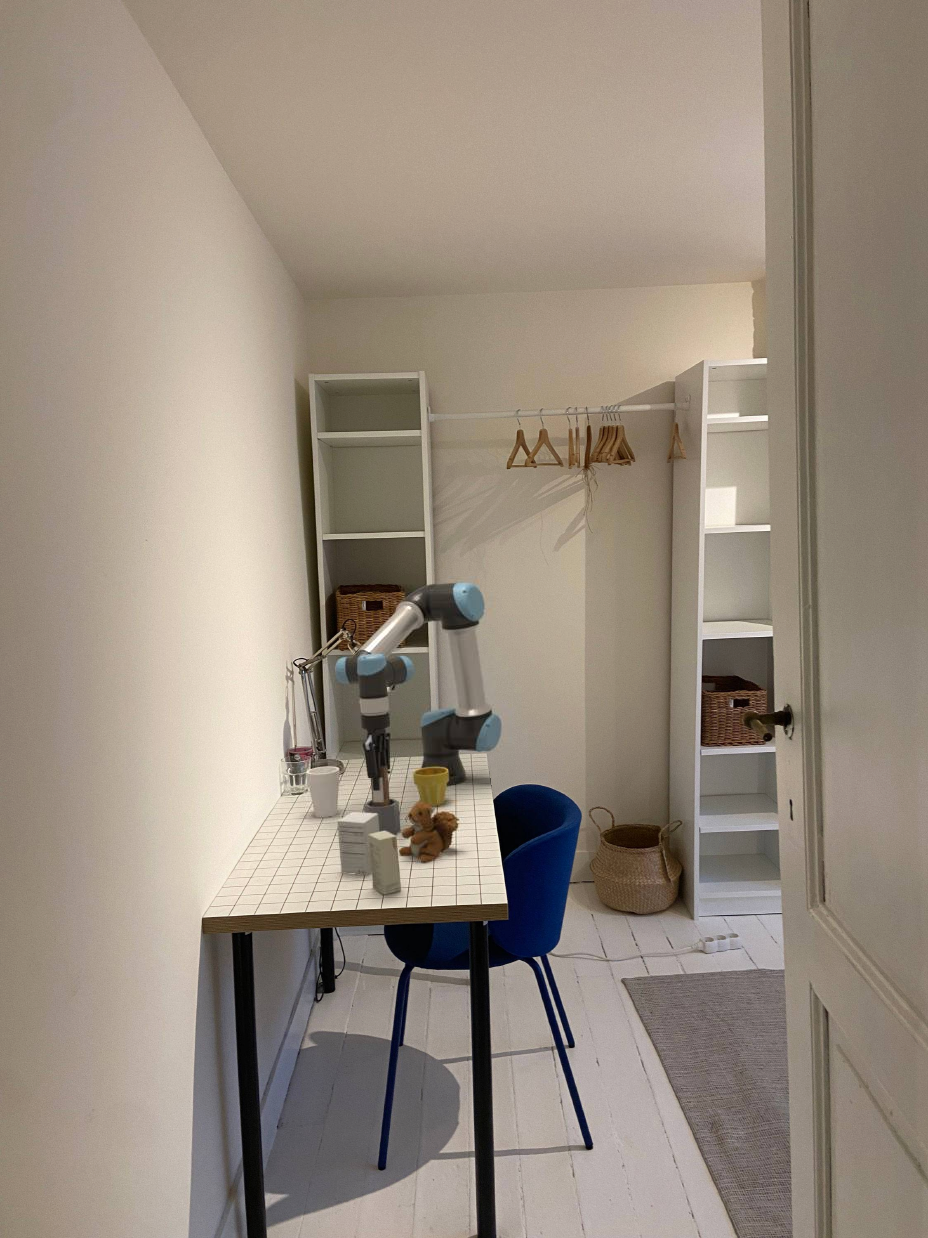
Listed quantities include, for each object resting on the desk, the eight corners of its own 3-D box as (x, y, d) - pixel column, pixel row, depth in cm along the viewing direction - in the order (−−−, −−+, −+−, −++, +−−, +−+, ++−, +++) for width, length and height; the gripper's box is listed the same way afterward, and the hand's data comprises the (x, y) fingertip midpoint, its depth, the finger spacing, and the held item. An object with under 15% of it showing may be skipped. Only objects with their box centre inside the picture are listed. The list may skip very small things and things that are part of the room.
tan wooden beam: (377, 824, 237) (373, 765, 236) (391, 824, 236) (387, 765, 235) (374, 827, 235) (369, 767, 234) (387, 827, 233) (383, 768, 232)
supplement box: (355, 862, 213) (351, 811, 212) (382, 865, 210) (379, 812, 209) (340, 873, 206) (336, 820, 205) (368, 876, 203) (364, 822, 202)
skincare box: (401, 891, 192) (398, 836, 191) (383, 896, 190) (380, 840, 189) (389, 882, 198) (385, 829, 197) (371, 887, 196) (367, 833, 195)
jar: (375, 827, 241) (373, 798, 240) (404, 828, 238) (402, 799, 237) (361, 837, 232) (359, 807, 232) (392, 838, 230) (389, 808, 229)
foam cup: (335, 819, 250) (332, 774, 249) (305, 819, 252) (301, 774, 251) (346, 809, 260) (343, 766, 259) (317, 809, 262) (313, 766, 261)
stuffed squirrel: (395, 855, 216) (392, 802, 215) (444, 842, 224) (441, 791, 223) (416, 866, 208) (412, 811, 207) (466, 852, 215) (462, 799, 215)
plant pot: (428, 810, 253) (426, 777, 253) (408, 803, 262) (406, 771, 261) (457, 803, 259) (455, 770, 259) (437, 796, 268) (435, 765, 267)
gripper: (373, 707, 242) (379, 792, 243) (349, 718, 227) (356, 808, 228) (399, 707, 239) (404, 792, 241) (376, 718, 225) (382, 809, 226)
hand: (381, 800), depth 235 cm, fingers closed on tan wooden beam, 2 cm apart
